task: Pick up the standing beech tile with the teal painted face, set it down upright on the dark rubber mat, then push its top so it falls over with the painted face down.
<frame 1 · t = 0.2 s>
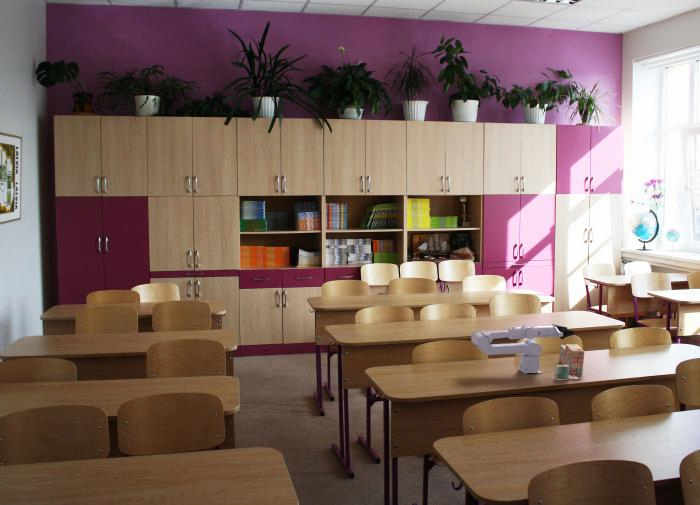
hand: (570, 330, 357), 21 cm above the table, tool horizontal, fingers open, 7 cm apart
mat: (571, 377, 350), on the table
beige printed box: (570, 368, 367), on the table
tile: (561, 379, 347), on the table
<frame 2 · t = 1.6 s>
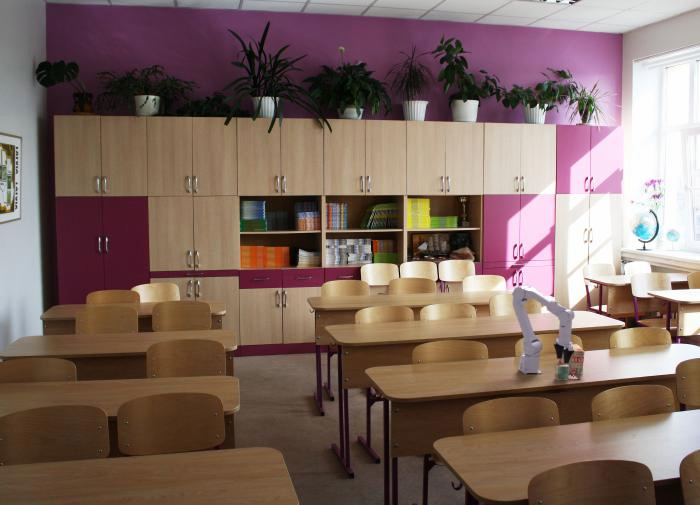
hand: (562, 360, 345), 9 cm above the table, tool pointing down, fingers open, 7 cm apart
nothing on the table moved.
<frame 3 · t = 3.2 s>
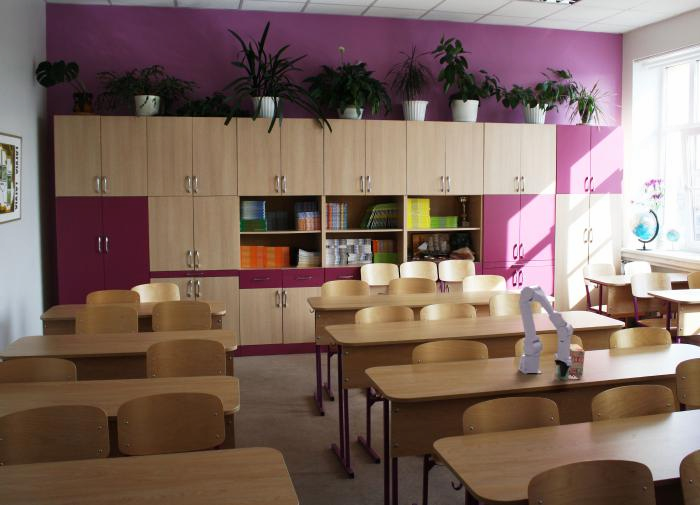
hand: (561, 375, 346), 2 cm above the table, tool pointing down, fingers closed on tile, 2 cm apart
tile: (561, 379, 347), on the table, touching gripper
everything else where it was.
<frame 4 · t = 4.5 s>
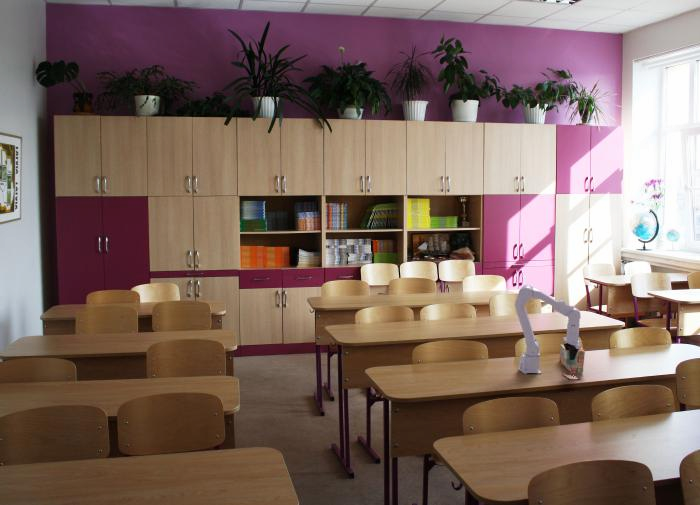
hand: (570, 359, 351), 9 cm above the table, tool pointing down, fingers closed on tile, 2 cm apart
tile: (570, 364, 351), point 6 cm above the table, touching gripper
everything else where it was.
when the fingers open (3 cm above the table, at t = 5.8 s): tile stays where it is, resting on mat.
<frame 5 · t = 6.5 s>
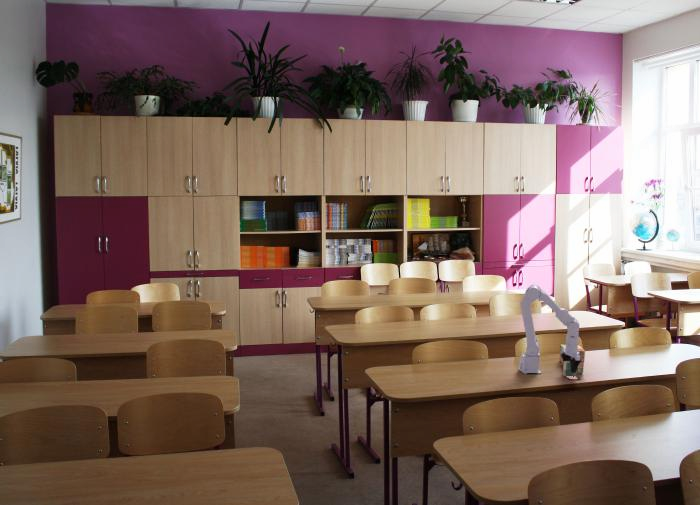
hand: (569, 370, 352), 3 cm above the table, tool pointing down, fingers open, 7 cm apart
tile: (569, 375, 352), resting on mat
everything else where it was.
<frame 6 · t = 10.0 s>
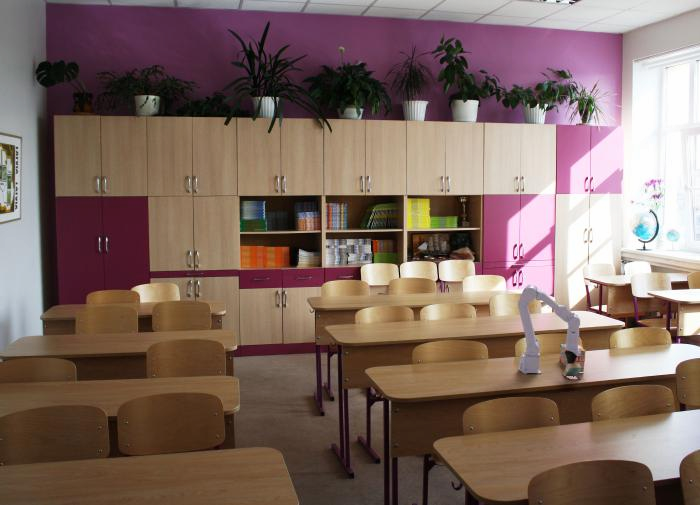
hand: (570, 365, 351), 5 cm above the table, tool pointing down, fingers closed
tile: (569, 374, 352), point 1 cm above the table, tilted 36°, touching mat
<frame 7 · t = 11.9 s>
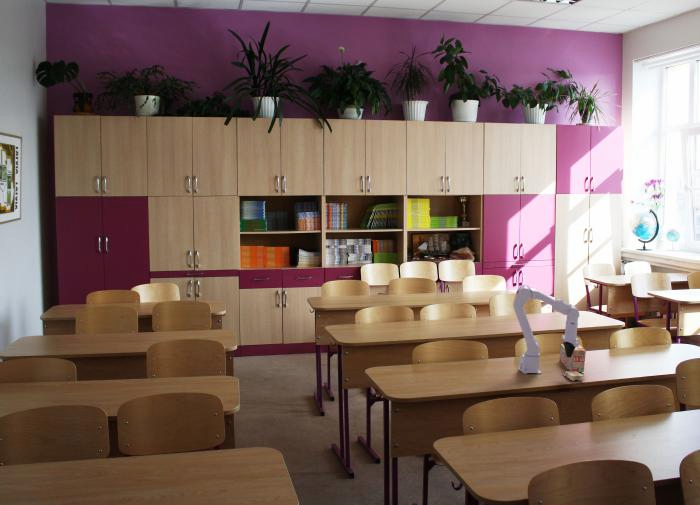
hand: (568, 356, 353), 9 cm above the table, tool pointing down, fingers closed
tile: (570, 373, 351), point 2 cm above the table, tilted 90°, touching mat
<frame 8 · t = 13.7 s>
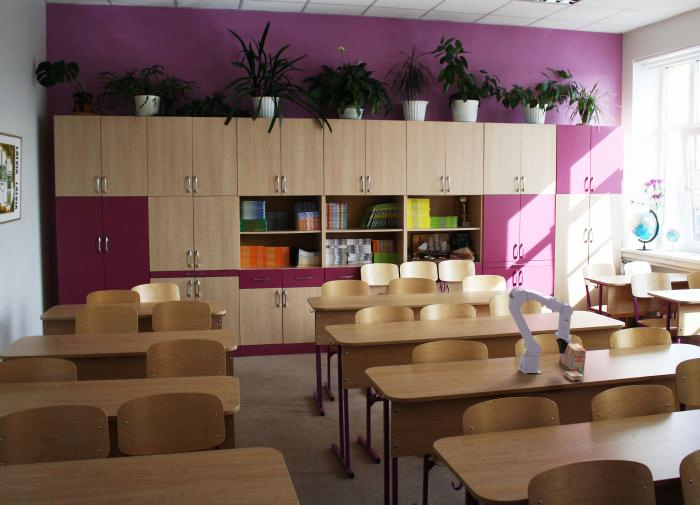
hand: (562, 353, 357), 10 cm above the table, tool pointing down, fingers closed
at the end: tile tilted 90°; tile inside the target area (2.8 cm from its centre), point 1.7 cm above the table; the gripper is holding nothing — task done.
